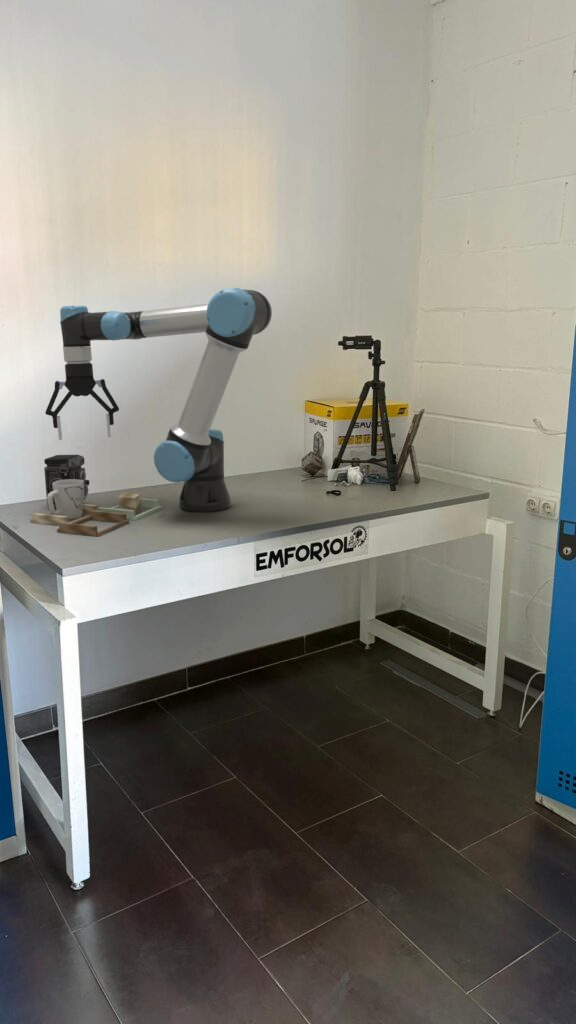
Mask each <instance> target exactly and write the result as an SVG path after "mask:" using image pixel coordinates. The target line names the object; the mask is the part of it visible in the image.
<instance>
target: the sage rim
mask: <svg viewBox="0 0 576 1024" xmlns="http://www.w3.org/2000/svg"><path fill="white" fill-rule="evenodd" d="M140 502H141V508H146V509H148V510H146V511H144V512H141V513H138V514H136V515H135V514H134V510H125V509H119V508H118V504H117V505H114V506H112V507H104V506H103V507H102V506H101V507H98V511H101V512H112V513H123V514H126V520H129V521H130V520H131V521H137V520H140V519H142V518H144V517H146V516H148V515H151V514H152V513H155V512H157V511H159V510H162V509H163V505H160V499H152V498H141V497H140Z"/></svg>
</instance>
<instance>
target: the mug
mask: <svg viewBox="0 0 576 1024" xmlns="http://www.w3.org/2000/svg"><path fill="white" fill-rule="evenodd" d="M52 486H53V491H52V492H50V493H49V494H48V496H47V497H46V503H47V502H48V505H49V506H48V505H47V506H48V508H49V513H51V514H52V515H58V516H68V519H69V521H70V520H72V521H73V520H77V519H79V518H82V517H83V514H84V513H83V504H85V503H84V502H85V500H84V481H83V480H78V479H66V480H59V481H55V482H53V483H52ZM53 496H54V500H55V504H56V507H54V504H53ZM55 508H56V509H55ZM56 510H57V511H56ZM55 511H56V512H55Z"/></svg>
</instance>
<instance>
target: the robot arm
mask: <svg viewBox="0 0 576 1024" xmlns="http://www.w3.org/2000/svg"><path fill="white" fill-rule="evenodd" d="M270 303H271V302H269V300H268V298H267V297H266V296H265V295H264V294H263V293H261V292H260V291H257V290H253V289H241V288H239V287H230V288H225V289H222V290H219V291H218V292H217V293H215V294H214V295H213V296H212V297H211V299H210V300H209V302H208V303H204V304H195V305H194V304H193V305H186V306H175V307H169V308H159V309H151V310H149V309H148V310H142V311H141V310H138V311H131V312H129V311H128V312H123V311H117V310H115V311H113V310H111V311H99V312H97V311H96V312H89V311H88V309H89V308H88V306H86V305H63V306H61V308H60V310H59V311H60V313H59V314H60V316H59V317H60V322H59V323H60V330H61V337H62V349H63V350H62V351H63V360H64V362H65V365H64V373H65V381H59V380H56V381H55V382H54V389H53V392H52V394H51V397H50V399H49V403H48V405H47V406H46V407H47V408H46V410H45V415H47V416H51V417H52V423H53V424H52V427H53V428H54V429H57V432H58V433H57V434H58V441H62V440H63V435H62V433H63V432H62V423H61V416H60V415H59V413H60V412H61V410H62V409H63V408H64V407H65V405H67V402H69V400H70V399H71V398H72V396H73V397H80V396H82V397H87V396H89V395H90V396H91V397H92V398H94V399H95V401H96V402H97V403H98V404H99V405H100V406H102V408H103V409H105V411H107V413H106V414H105V416H106V427H107V428H106V429H107V436H108V438H111V437H112V436H111V426H114V423H115V422H114V414H115V413H116V412H117V413H118V412H119V411H120V407H119V406H118V404H117V402H116V401H115V399H114V397H113V396H112V394H111V392H110V391H109V389H108V387H107V385H106V380H105V379H104V378H102V379H98V380H95V379H94V369H93V364H92V363H91V361H93V358H92V356H93V355H92V346H91V344H92V343H91V341H121V340H141V339H146V338H148V339H149V338H157V337H168V336H178V335H189V334H201V333H202V334H203V333H205V336H206V337H207V341H208V342H207V344H206V347H205V349H204V352H203V356H202V358H201V359H200V363H199V366H198V368H197V371H196V374H195V376H194V379H193V382H192V385H191V387H190V390H189V392H188V396H187V399H186V400H185V403H184V407H183V410H182V412H181V414H180V418H179V419H178V422H176V423H174V424H172V425H171V426H170V428H169V431H168V433H167V436H166V439H165V440H164V441H162V442H160V444H159V445H158V446H156V449H155V450H154V454H153V463H154V466H155V468H156V470H157V472H158V474H159V475H160V476H161V477H162V478H163V479H164V480H167V481H168V482H171V483H181V482H182V483H183V485H182V487H181V492H180V495H179V499H178V502H179V503H178V505H179V509H181V510H184V511H188V512H194V513H195V512H198V513H199V512H201V513H202V512H203V513H205V512H217V511H218V512H219V511H222V510H225V509H226V510H227V509H229V508H230V507H231V506H232V505H231V504H232V503H231V495H230V493H229V491H228V487H227V484H226V482H225V461H224V460H225V458H224V457H225V455H224V454H225V453H224V452H225V451H224V449H225V447H224V445H225V441H224V433H223V432H222V430H220V429H212V428H211V427H212V425H213V423H214V420H215V418H216V415H217V412H218V409H219V408H220V407H219V406H220V405H221V402H222V400H223V396H224V394H225V391H226V388H227V386H228V383H229V381H230V378H231V377H232V374H233V371H234V369H235V366H236V363H237V360H238V358H239V354H240V353H243V352H244V351H247V350H248V349H249V346H250V344H251V340H252V338H253V336H255V335H258V334H260V333H262V332H263V331H264V330H266V328H268V326H269V325H270V323H271V321H272V306H271V304H270ZM96 385H97V386H98V387H99V388H101V389H102V391H103V393H104V395H105V396H106V398H107V399H108V401H109V402H110V404H111V406H112V407H110V406H109V405H108V404H107V403H106V402H105V401H104V400H103V399H102V397H100V396H99V395H98V394H97V393H96V392H95V391H94V389H95V387H96ZM63 387H65V388H66V390H68V392H67V393H66V395H65V396H64V397H63V399H62V400H61V402H60V403H59V404H58V405H57V407H56V408H55V410H53V407H54V405H55V402H56V400H57V397H58V395H59V393H60V390H62V389H63Z"/></svg>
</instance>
